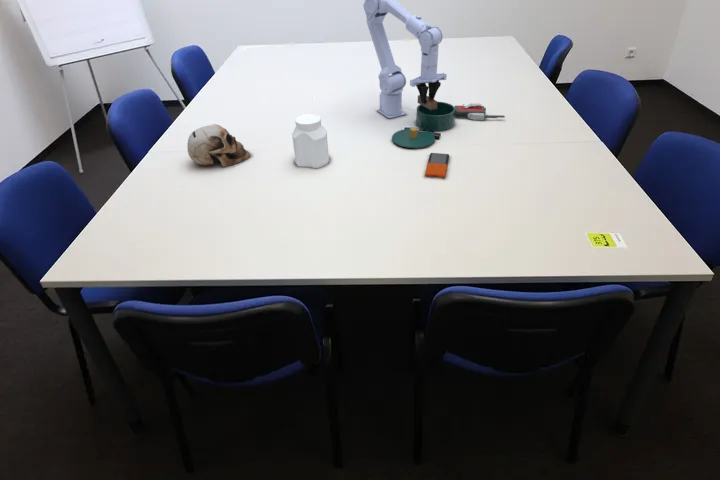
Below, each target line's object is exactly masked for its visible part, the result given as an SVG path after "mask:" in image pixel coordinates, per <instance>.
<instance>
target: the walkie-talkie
mask: <svg viewBox="0 0 720 480" xmlns="http://www.w3.org/2000/svg"><path fill="white" fill-rule="evenodd" d="M454 107H455V118H456V119H470V120H473V121H474V120H477V121H478V120H479V121H484V120H485V119H498V118H501V119H502V118H503V119H505V117H506V116H505V115H504V114H503V115H500V114H499V115H494V114H490V115H489V114H486V113H487V108H486V107H485V106H484V105H482V104H481V103H469V104H466V105H465V104H464V103H463V104H462V105H454Z"/></svg>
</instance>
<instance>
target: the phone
mask: <svg viewBox="0 0 720 480" xmlns="http://www.w3.org/2000/svg"><path fill="white" fill-rule="evenodd" d="M449 160H450V154H449V153H441V152H430V154H429V157H428V161H427V164H426V168H425V172H424V176H425V177H427V178H428V177H429V178H440V179H445V178H446V175H447V171H448V165H449Z"/></svg>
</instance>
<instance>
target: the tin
mask: <svg viewBox="0 0 720 480" xmlns="http://www.w3.org/2000/svg"><path fill="white" fill-rule="evenodd" d="M415 117H416V119H415V124H416V126H417V127H418V129H423V130H426V131H429V132H444V131H448V130H450V129H452V128H453V127H454V125H455V120H456V119H455V118H456V117H455V105H453V104H451V103H448V102H444V101H437V109H434V110H429V109H428V108H426V107H424V106H423V105H421V104H418V106H416V116H415Z"/></svg>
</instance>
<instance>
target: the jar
mask: <svg viewBox="0 0 720 480" xmlns="http://www.w3.org/2000/svg"><path fill="white" fill-rule="evenodd" d="M294 122H295V127H294V129H293V131H292V132H291V138H292V143H293V144H292V145H293V152H294V162H295V164H296V166H297V167H300V168H301V167H303V168H304V167H305V168H307V167H308V168H313V169H319V168H322V167H325V166H326V165H327V164H328V163H329V162H330V155H329V144H328V131H327V129H326V128H325V127H324V126H323V124H322V118H321V116H320V115H318V114H316V113H315V114H314V113H305V114H301V115H299V116H297V117H296V118H295V120H294Z"/></svg>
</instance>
